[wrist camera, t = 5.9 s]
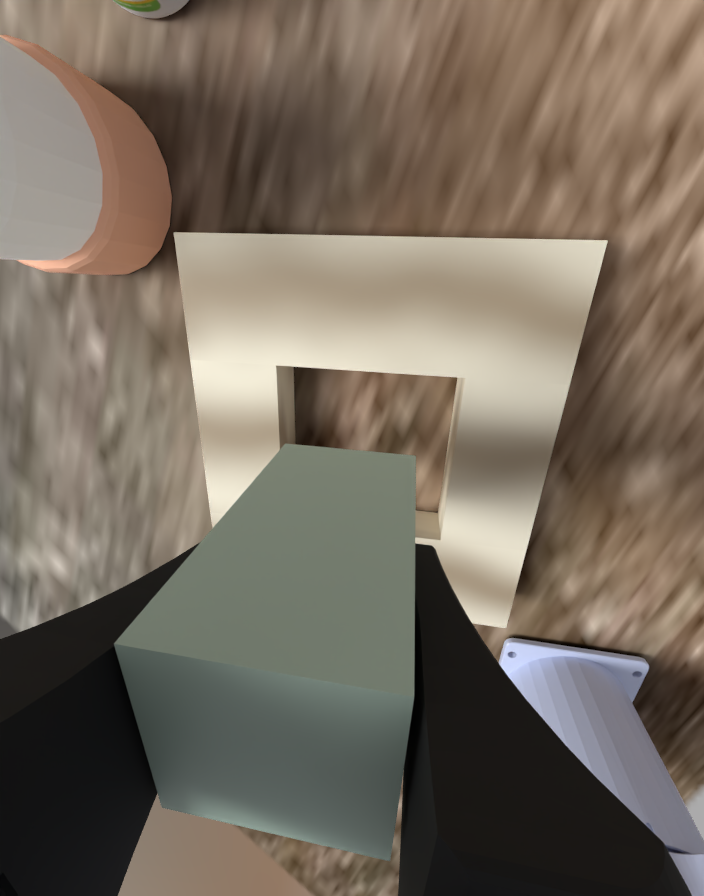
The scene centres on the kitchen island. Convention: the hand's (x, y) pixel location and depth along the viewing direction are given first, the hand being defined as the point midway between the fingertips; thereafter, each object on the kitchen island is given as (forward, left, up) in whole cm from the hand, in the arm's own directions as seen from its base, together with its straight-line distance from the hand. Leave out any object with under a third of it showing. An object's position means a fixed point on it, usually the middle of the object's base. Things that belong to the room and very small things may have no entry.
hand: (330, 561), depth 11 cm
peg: (0, 0, -3) cm, 3 cm away
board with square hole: (0, 0, -10) cm, 10 cm away
